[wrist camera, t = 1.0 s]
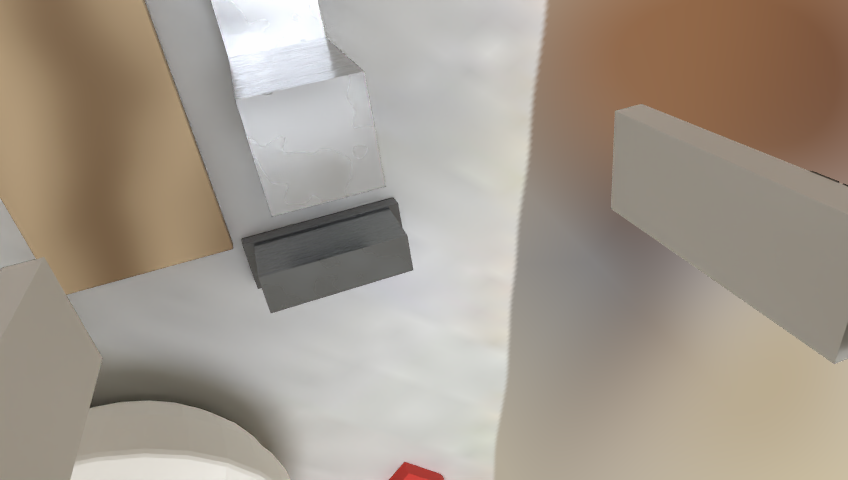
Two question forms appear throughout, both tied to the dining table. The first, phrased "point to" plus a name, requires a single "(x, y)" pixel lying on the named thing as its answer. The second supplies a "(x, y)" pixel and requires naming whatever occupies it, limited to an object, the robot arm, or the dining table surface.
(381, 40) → the dining table surface
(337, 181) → the bent metal sheet
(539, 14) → the dining table surface
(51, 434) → the robot arm
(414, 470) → the bracket
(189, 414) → the bowl
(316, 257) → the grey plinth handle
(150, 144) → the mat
